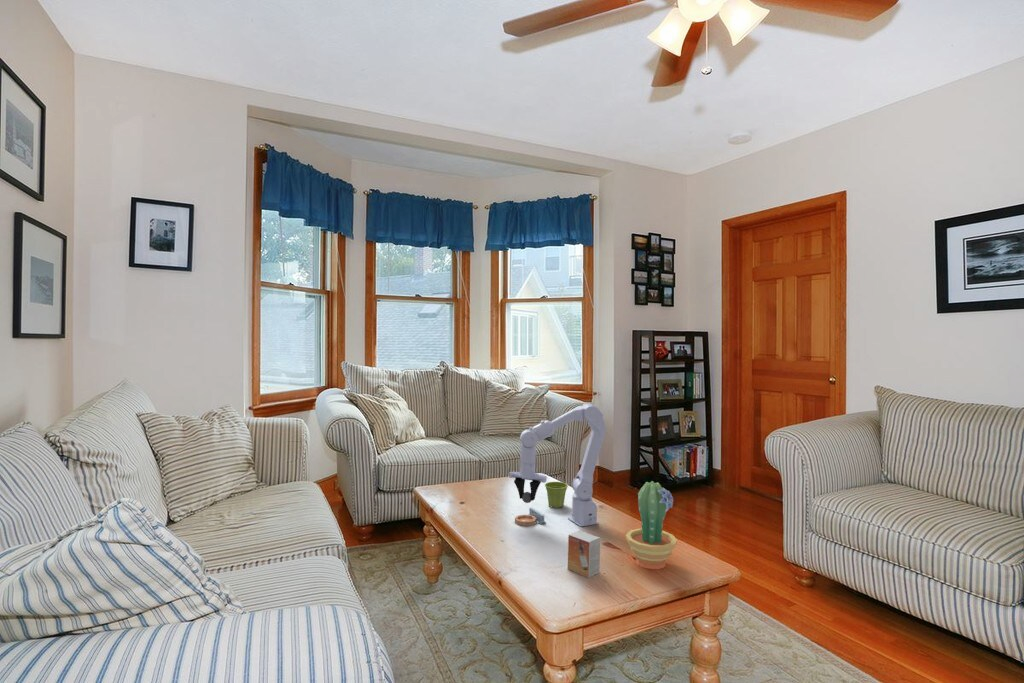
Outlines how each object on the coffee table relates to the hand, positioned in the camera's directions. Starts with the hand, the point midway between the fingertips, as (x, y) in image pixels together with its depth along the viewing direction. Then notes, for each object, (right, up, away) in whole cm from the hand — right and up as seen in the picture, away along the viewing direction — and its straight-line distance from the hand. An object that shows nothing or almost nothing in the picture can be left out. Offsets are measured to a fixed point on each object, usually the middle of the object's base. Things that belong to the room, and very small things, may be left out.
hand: (527, 498), depth 199 cm
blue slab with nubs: (+4, -9, +2) cm, 10 cm away
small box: (+16, -10, -41) cm, 45 cm away
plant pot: (+12, -9, +19) cm, 24 cm away
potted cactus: (+37, -10, -35) cm, 52 cm away
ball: (0, -2, 0) cm, 2 cm away
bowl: (-1, -9, 0) cm, 9 cm away
